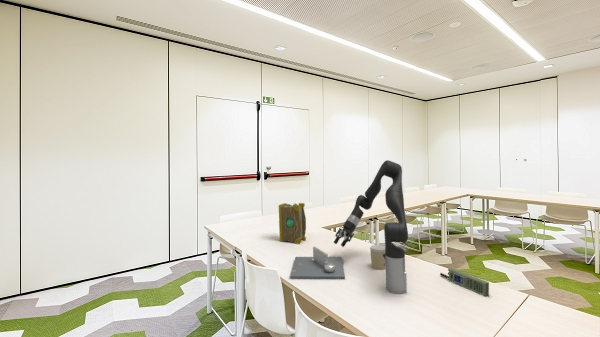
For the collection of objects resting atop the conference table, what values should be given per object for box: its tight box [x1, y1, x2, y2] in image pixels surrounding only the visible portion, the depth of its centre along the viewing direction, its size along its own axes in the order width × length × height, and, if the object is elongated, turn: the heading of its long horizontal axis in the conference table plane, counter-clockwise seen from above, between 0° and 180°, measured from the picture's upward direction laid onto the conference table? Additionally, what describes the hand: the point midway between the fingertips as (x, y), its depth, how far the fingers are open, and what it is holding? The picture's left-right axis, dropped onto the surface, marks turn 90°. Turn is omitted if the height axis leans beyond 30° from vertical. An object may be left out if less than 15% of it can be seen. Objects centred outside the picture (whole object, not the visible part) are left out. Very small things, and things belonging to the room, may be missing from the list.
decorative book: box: [278, 202, 307, 245], centre depth 224 cm, size 20×11×30 cm, turn 63°
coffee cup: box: [369, 244, 386, 271], centre depth 168 cm, size 9×9×12 cm
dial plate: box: [289, 256, 346, 280], centre depth 169 cm, size 30×30×2 cm
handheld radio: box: [439, 267, 490, 297], centre depth 142 cm, size 7×3×25 cm
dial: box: [312, 246, 335, 272], centre depth 168 cm, size 22×6×8 cm, turn 25°
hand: (338, 244), depth 177 cm, fingers open, 8 cm apart
